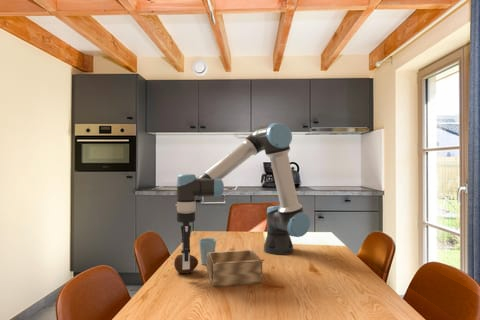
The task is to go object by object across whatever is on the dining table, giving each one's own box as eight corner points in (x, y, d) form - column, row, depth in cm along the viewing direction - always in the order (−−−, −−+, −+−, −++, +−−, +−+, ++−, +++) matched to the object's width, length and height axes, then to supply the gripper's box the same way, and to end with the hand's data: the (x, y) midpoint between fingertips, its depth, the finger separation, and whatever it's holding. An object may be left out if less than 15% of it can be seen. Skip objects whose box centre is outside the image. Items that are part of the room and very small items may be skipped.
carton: (251, 268, 133) (251, 249, 134) (262, 282, 117) (262, 261, 117) (206, 271, 129) (206, 252, 130) (210, 287, 113) (210, 265, 113)
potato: (176, 270, 132) (176, 251, 132) (199, 270, 131) (199, 251, 132) (172, 276, 124) (172, 256, 124) (196, 276, 124) (196, 256, 124)
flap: (260, 260, 116) (264, 259, 111) (260, 262, 116) (264, 260, 111) (214, 263, 113) (216, 262, 107) (214, 265, 112) (216, 264, 107)
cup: (218, 264, 139) (218, 241, 139) (202, 267, 136) (201, 242, 136) (213, 259, 146) (212, 237, 146) (197, 262, 143) (197, 239, 143)
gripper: (176, 208, 140) (175, 255, 139) (177, 216, 115) (176, 274, 115) (193, 207, 141) (192, 254, 141) (197, 216, 117) (196, 273, 116)
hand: (185, 263), depth 128 cm, fingers open, 13 cm apart
